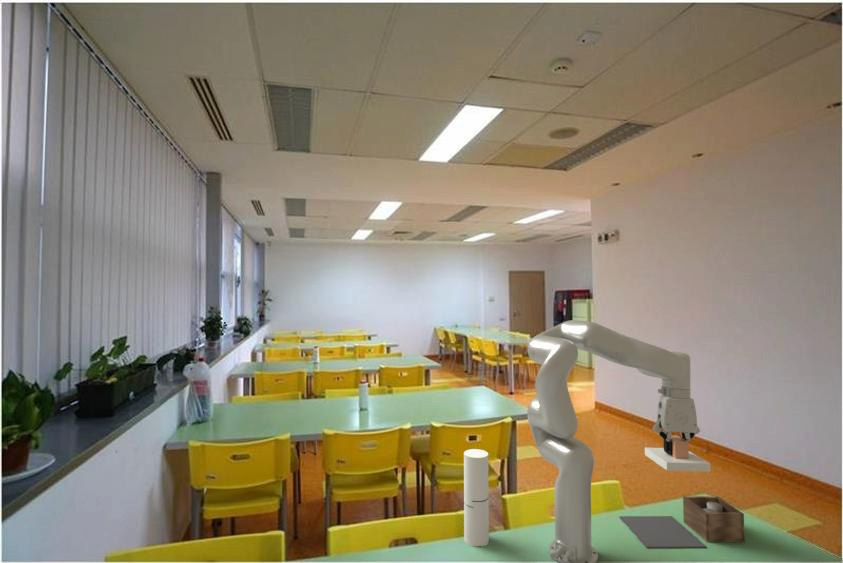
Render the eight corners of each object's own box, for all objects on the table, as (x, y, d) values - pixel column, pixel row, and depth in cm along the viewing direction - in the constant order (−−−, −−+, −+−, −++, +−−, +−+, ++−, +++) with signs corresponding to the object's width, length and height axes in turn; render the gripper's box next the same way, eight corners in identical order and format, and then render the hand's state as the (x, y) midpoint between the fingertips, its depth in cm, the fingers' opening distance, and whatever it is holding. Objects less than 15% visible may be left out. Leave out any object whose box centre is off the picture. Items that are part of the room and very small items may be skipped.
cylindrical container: (488, 548, 124) (487, 458, 124) (463, 545, 125) (462, 456, 126) (489, 534, 131) (488, 449, 131) (465, 531, 132) (465, 448, 133)
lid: (666, 470, 126) (666, 444, 127) (644, 454, 139) (644, 431, 139) (710, 471, 126) (710, 446, 126) (684, 455, 139) (684, 432, 139)
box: (706, 541, 126) (706, 513, 127) (683, 522, 137) (683, 496, 138) (744, 541, 127) (743, 513, 127) (718, 522, 138) (717, 496, 138)
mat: (646, 548, 123) (646, 546, 123) (619, 517, 140) (619, 516, 140) (706, 547, 124) (706, 546, 124) (671, 517, 140) (671, 516, 140)
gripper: (655, 395, 130) (654, 457, 129) (711, 396, 130) (711, 459, 129) (642, 389, 137) (642, 448, 136) (695, 391, 137) (695, 450, 136)
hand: (676, 453), depth 133 cm, fingers closed on lid, 4 cm apart
